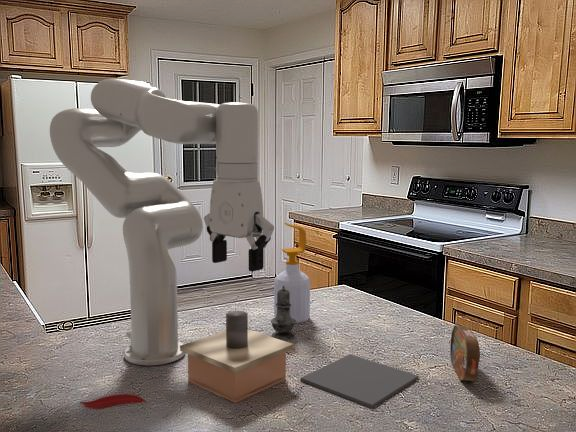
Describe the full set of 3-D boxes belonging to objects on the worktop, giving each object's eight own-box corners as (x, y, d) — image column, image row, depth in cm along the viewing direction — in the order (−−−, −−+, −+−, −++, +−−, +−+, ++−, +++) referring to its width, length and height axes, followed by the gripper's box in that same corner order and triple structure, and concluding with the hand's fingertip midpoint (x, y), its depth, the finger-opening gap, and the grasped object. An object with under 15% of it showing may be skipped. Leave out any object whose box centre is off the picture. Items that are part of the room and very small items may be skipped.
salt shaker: (293, 341, 127) (293, 289, 125) (268, 339, 128) (268, 288, 126) (297, 332, 132) (298, 283, 131) (273, 330, 134) (273, 281, 132)
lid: (180, 350, 104) (179, 314, 103) (238, 330, 115) (238, 298, 114) (234, 373, 94) (234, 333, 94) (293, 349, 106) (293, 313, 105)
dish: (188, 381, 105) (187, 350, 104) (238, 361, 115) (238, 333, 114) (235, 403, 97) (235, 369, 96) (285, 379, 106) (285, 349, 105)
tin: (448, 357, 118) (450, 318, 117) (463, 358, 118) (465, 319, 117) (462, 388, 103) (465, 344, 102) (480, 389, 103) (482, 345, 102)
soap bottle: (270, 314, 146) (270, 221, 142) (302, 311, 148) (304, 220, 145) (279, 325, 137) (280, 226, 134) (314, 322, 140) (316, 225, 137)
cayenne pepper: (73, 410, 95) (72, 399, 94) (85, 397, 99) (85, 387, 99) (141, 414, 93) (141, 403, 93) (151, 401, 98) (151, 390, 98)
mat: (300, 380, 106) (300, 377, 106) (349, 356, 118) (350, 354, 118) (372, 408, 95) (372, 404, 95) (418, 378, 107) (418, 375, 107)
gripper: (190, 171, 103) (191, 261, 106) (256, 176, 92) (256, 277, 94) (220, 170, 109) (221, 256, 111) (286, 174, 98) (285, 270, 100)
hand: (237, 265), depth 103 cm, fingers open, 9 cm apart
